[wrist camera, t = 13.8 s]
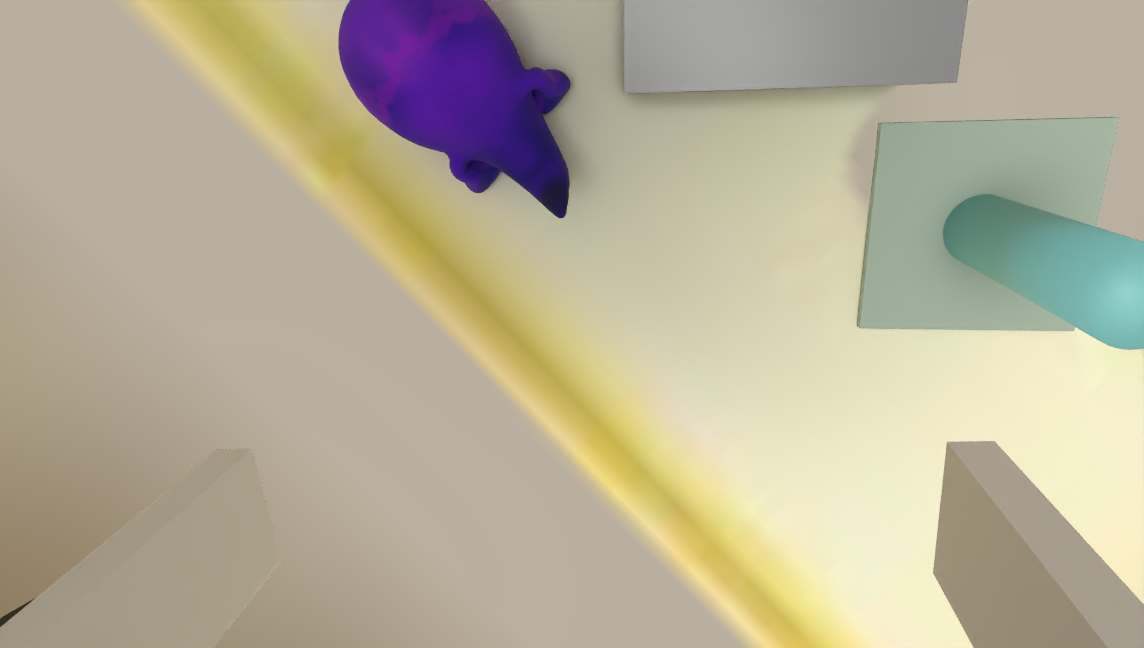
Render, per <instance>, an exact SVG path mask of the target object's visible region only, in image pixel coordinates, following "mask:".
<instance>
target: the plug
mask: <svg viewBox="0 0 1144 648" xmlns="http://www.w3.org/2000/svg"><path fill="white" fill-rule="evenodd" d="M943 240H944V244H945V246H946V248H947V250H948V252H949V253H950V254H951V255H952V256H953V257H954V258H956V259H957V260H959V261H961V262H963V263H964V264H966V265H968V266H970V267H971V268H973V269H975V270H977V271H978V272H980V273H982V274H984V275H985V276H987V277H989V278H991V279H992V280H994V281H996V282H998V283H999V284H1001V285H1003V286H1005V287H1006V288H1008V289H1010V290H1012V291H1013V292H1015V293H1017V294H1019V295H1020V296H1022V297H1024V298H1026V299H1027V300H1029V301H1031V302H1033V303H1034V304H1036V305H1038V306H1040V307H1041V308H1043V309H1045V310H1047V311H1048V312H1050V313H1052V314H1054V315H1055V316H1057V317H1059V318H1061V319H1062V320H1064V321H1066V322H1068V323H1069V324H1071V325H1073V326H1075V327H1076V328H1078V329H1080V330H1082V331H1083V332H1085V333H1087V334H1089V335H1090V336H1092V337H1094V338H1096V339H1097V340H1099V341H1101V342H1103V343H1105V344H1107V345H1109V346H1112V347H1115V348H1120V349H1129V350H1131V349H1142V348H1144V242H1143V241H1139V240H1136V239H1133V238H1130V237H1127V236H1124V235H1120V234H1117V233H1114V232H1110V231H1108V230H1104V229H1101V228H1098V227H1095V226H1092V225H1088V224H1085V223H1082V222H1079V221H1076V220H1073V219H1069V218H1066V217H1063V216H1060V215H1057V214H1053V213H1050V212H1047V211H1044V210H1041V209H1037V208H1034V207H1031V206H1028V205H1025V204H1021V203H1018V202H1015V201H1012V200H1009V199H1006V198H1002V197H999V196H996V195H989V194H984V195H977V196H974V197H971V198H969V199H966V200H965V201H963V202H961V203H960V204H959V205H957V206H956V207H955V208H954V209H953V211H952V212H951V213H950V214H949V216H948V218H947V220H946V222H945V225H944V229H943Z"/></svg>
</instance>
